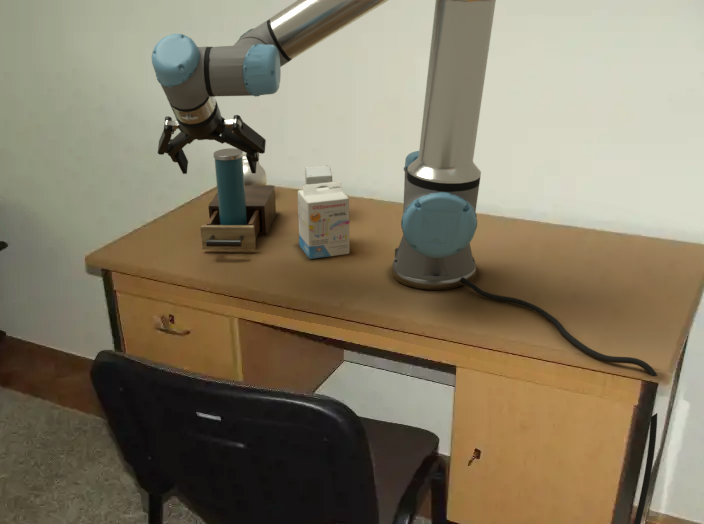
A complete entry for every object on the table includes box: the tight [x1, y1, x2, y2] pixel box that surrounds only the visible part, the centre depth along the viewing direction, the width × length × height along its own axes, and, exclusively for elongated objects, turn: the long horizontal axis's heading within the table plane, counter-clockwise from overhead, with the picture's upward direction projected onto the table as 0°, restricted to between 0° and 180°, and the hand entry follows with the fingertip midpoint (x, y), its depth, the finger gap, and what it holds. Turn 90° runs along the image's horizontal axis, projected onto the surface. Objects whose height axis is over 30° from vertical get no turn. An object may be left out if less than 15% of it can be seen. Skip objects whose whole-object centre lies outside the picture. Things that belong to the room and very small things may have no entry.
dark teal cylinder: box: [213, 147, 247, 225], centre depth 180 cm, size 6×6×17 cm
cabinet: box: [207, 185, 277, 237], centre depth 192 cm, size 14×12×7 cm
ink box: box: [297, 180, 350, 260], centre depth 175 cm, size 9×8×13 cm
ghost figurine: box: [242, 153, 268, 186], centre depth 208 cm, size 9×10×10 cm
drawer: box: [200, 209, 262, 251], centre depth 182 cm, size 17×11×5 cm, turn 170°
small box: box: [304, 164, 333, 188], centre depth 192 cm, size 8×6×10 cm
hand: (219, 167), depth 170 cm, fingers open, 13 cm apart
